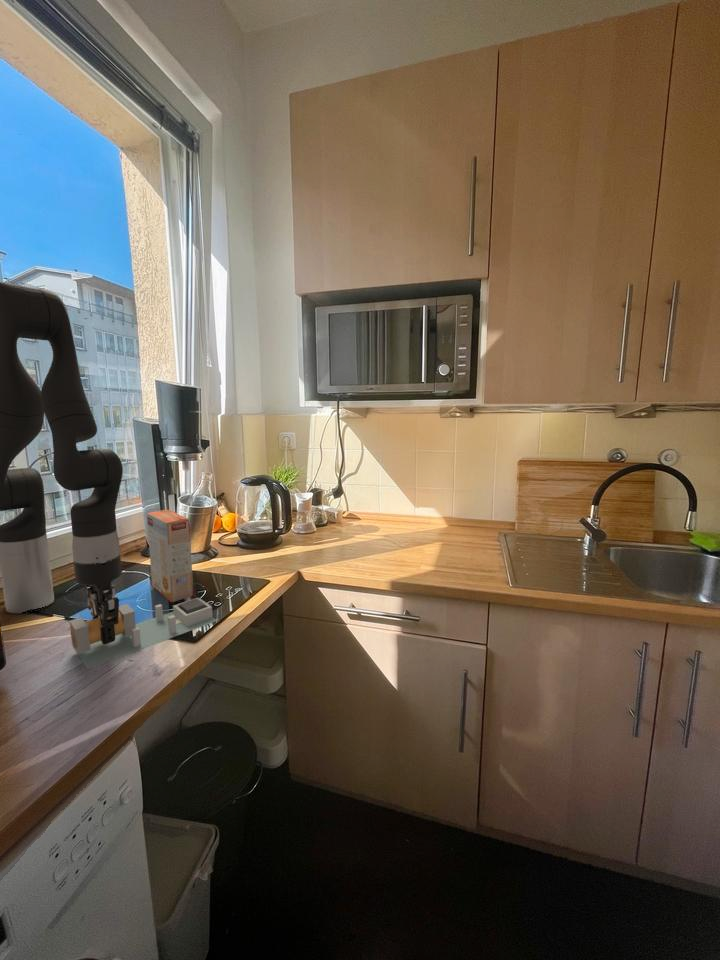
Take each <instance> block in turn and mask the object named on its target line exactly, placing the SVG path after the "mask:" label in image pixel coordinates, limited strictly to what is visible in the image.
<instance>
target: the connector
mask: <svg viewBox="0 0 720 960" xmlns="http://www.w3.org/2000/svg"><path fill="white" fill-rule="evenodd" d="M193 599H194V600H192V599H190V600H191V601H189V600H187V601H188V602H186V601H184V602H185V603H183V602H181V603H182V604H180V603H179V604H180V609H181V610H183V611H184V612H185V613H186V614H189V613H192V612H195V611H198V610H201V609H203V608H205V604H204V603H202V602H201V601H200V600H198V599H195V598H193Z"/></svg>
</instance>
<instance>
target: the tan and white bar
mask: <svg viewBox="0 0 720 960" xmlns="http://www.w3.org/2000/svg"><path fill="white" fill-rule="evenodd" d="M135 613H136V611H135V610H134V609H133V608H132V607H131V606H130V605H129V604H128V603H125V604H121V605H119V618H118V620H119V621H118V624H114V628H115V636H116V635H119V634H122V635H123V636H124V637H125V638H127V637H129V636H132V630H131V629H134V628H136V625H135V624H136V615H135ZM109 618H111V617H109ZM109 618H107V619H109ZM69 629H70V637H71V646H72V645H73V646H72V648H73V647H74V648H73V649H74V651H75V650H76V651H75V652H77V653H76V655H78V654H81V653H84V652H87V651H89V650H90V644H93V643H96V642H98V641H101V631H100V626H99V618H95V619H93V618H92V619H88V620H86V621H85V619H84V618H83V617H77V618H74V619H72V620H69Z"/></svg>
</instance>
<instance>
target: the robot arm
mask: <svg viewBox="0 0 720 960" xmlns="http://www.w3.org/2000/svg"><path fill="white" fill-rule="evenodd" d="M73 335H74V334H73V329H72V325H71V320H70V316H69V313H68V308H67V307H66V304H65V303H64V301H63V299H62V298H61V297H60V296H59V295H58V293H55V292H53V291H52V290H51V291H50V290H47V289H42V288H38V287H32V286H27V285H21V284H17V283H11V282H10V283H9V282H4V281H0V512H5V511H12V510H18V509H19V510H20V509H22V511H21V512H20V513H19V514H18V515H17V516H16V517H14V518H12V519H10V520H8V521H7V522H4V523H3V524H0V576H1V584H2V590H3V599H4V605H5V606H4V607H5V611H6V612H7V613H9V614H23V613H22V612H25V611H27V610H30V609H37V608H41V609H43V608H42V607H44V608H46V607H48V606H49V605H51V604H52V603H54V602H55V594H54V587H53V585H54V584H53V577H52V575H53V574H52V569H51V568H52V567H51V560H50V553H49V552H50V551H49V544H48V536H47V534H48V533H47V518H46V507H45V503H46V502H45V488H44V487H45V486H44V481H43V478H42V474H41V473H40V472H39V470H37V469H36V468H34V467H25V468H10V469H9V467H10V466H11V464H12V463H13V461H14V460H15V459H16V457H17V456H18V455H19V454H20V453H21V452H22V451H24V450H25V449H26V448H27V447H28V446H29V445H30V444H31V443H32V442H33V441H34V440H35V439H36V438H37V437H38V435H39V434H40V432H41V431H42V429H43V425H44V420H45V418H46V420H47V423H48V425H49V428H50V431H51V437H52V438H51V439H52V448H53V449H52V450H53V455H52V456H53V459H52V461H53V462H52V463H53V466H52V471H53V475H54V479H55V481H56V482H57V483H58V485H59V486H60V487H62V488H63V489H65V490H67V491H72V492H74V491H76V492H77V491H82V490H89V489H93V490H92V493H91V495H90V496H88V497H87V498H85V499H82V500H79V501H78V502H75V503H74V504H72V506H71V507H70V523H71V532H72V544H71V546H72V548H71V550H72V558H73V559H72V560H73V567H74V576H75V577H74V578H75V582H76V583H77V584H79V585H83V586H84V591H85V596H86V602H87V609H88V610H89V611H90V615H91V617H92V619H95V618H99V626H100V631H101V642H102V643H103V644H108V643H111V642H113V641H115V628H114V624H118V621H119V620H118V618H119V606H120V599H119V597H115V596H116V590H115V589H116V588H115V586H112V582H114V580H116V579H118V578H119V577H120V576H121V575H122V573H123V571H122V561H121V560H122V559H121V558H122V557H121V549H120V539H119V535H118V529H117V527H118V526H117V517H116V506H117V502H118V496H119V492H120V489H121V488H120V487H121V484H122V479H123V472H124V468H123V463H122V461H121V458H120V457H119V455H118V454H117V453H116V452H115V451H113V450H112V449H109V448H97V449H96V448H95V449H84V450H78V447H77V444H79V443H83V442H86V441H89V440H91V439H92V438H94V437H96V435H97V433H98V427H97V423H96V420H95V417H94V415H93V412H92V410H91V406H90V404H89V402H88V398H87V396H86V393H85V390H84V387H83V381H82V379H81V373H80V367H79V366H80V365H79V362H78V356H77V349H76V345H75V339H74V336H73ZM19 338H20V339H28V340H29V339H30V340H41V341H47V342H49V345H50V347H51V350H52V361H51V363H50V367H49V369H48V372H47V374H46V376H45V379H44V380H43V383H42V387H41V389H40V387H39V386H38V384H37V382H36V381H35V380H34V378H32V376H31V375H30V373H29V372H28V371H27V369H26V368H25V366H24V364H23V363H22V361H21V360H20V357H19V354H18V353H19V352H18V347H17V345H18V339H19ZM45 606H46V607H45ZM109 617H111V618H109ZM107 618H109V619H107Z"/></svg>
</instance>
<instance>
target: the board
mask: <svg viewBox="0 0 720 960" xmlns="http://www.w3.org/2000/svg"><path fill="white" fill-rule="evenodd" d="M194 599H198V600H200V601H201V602H202V603H204V604H205V608H203V609H201V610H198V611H195V612H192V613H189V614H186V613H185V612H184V611H183V610H181V609H180V604H182V603H185V602H188V601H191V600H194ZM154 610H155V611H154V612H155V617H153V618H150V619H147V620H144V621H140V622H138V623H135V625H136V628H134V629H131V630H132V636H129V637H127V638H125V637H124V636H123V635H122V634H119V635H116V636H115V641H113V642H111V643H108V644H103V643H102V642H101V641H98V642H96V643H93V644H90V650H89V651H87V652H84V653H81V654H77V652H76V650H75V649H74V647H73V645H72V644H71V646H72V648H73V649H74V651H75V652H76V654H77V656H78V657H79V659H80V661H81V662H82V664H83V665H84V667H85V668H86V670H90V669H93V668H95V667H98V666H101V665H103V664H107V663H109V662H111V661H115V660H116V659H120V658H123V657H125V656H127V655H130V654H132V653H133V654H134V653H135V652H139V651H140V650H144V649H146V648H149V647H152V646H154V645H156V644H159V643H162V642H164V641H167V640H169V639H173V638H174V637H178V636H180V635H183V634H185V633H188V632H191V631H194V630H196V629H199V628H201V627H204V626H207V625H209V624H211V623H212V624H213V623H215V622H217V621H218V620H217V619H216V618H214V616H213V607H212V605H210V604H209V603H207V602H206V601H204V600H203V599H202V598H200V597H196V598H192V599H190V600H186V601H183V602H181V603H177V604H175V605H172V611H170V612H168V613H163V612H164V609H163V605H162V604H161V603H160V604H156V605H154Z"/></svg>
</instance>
